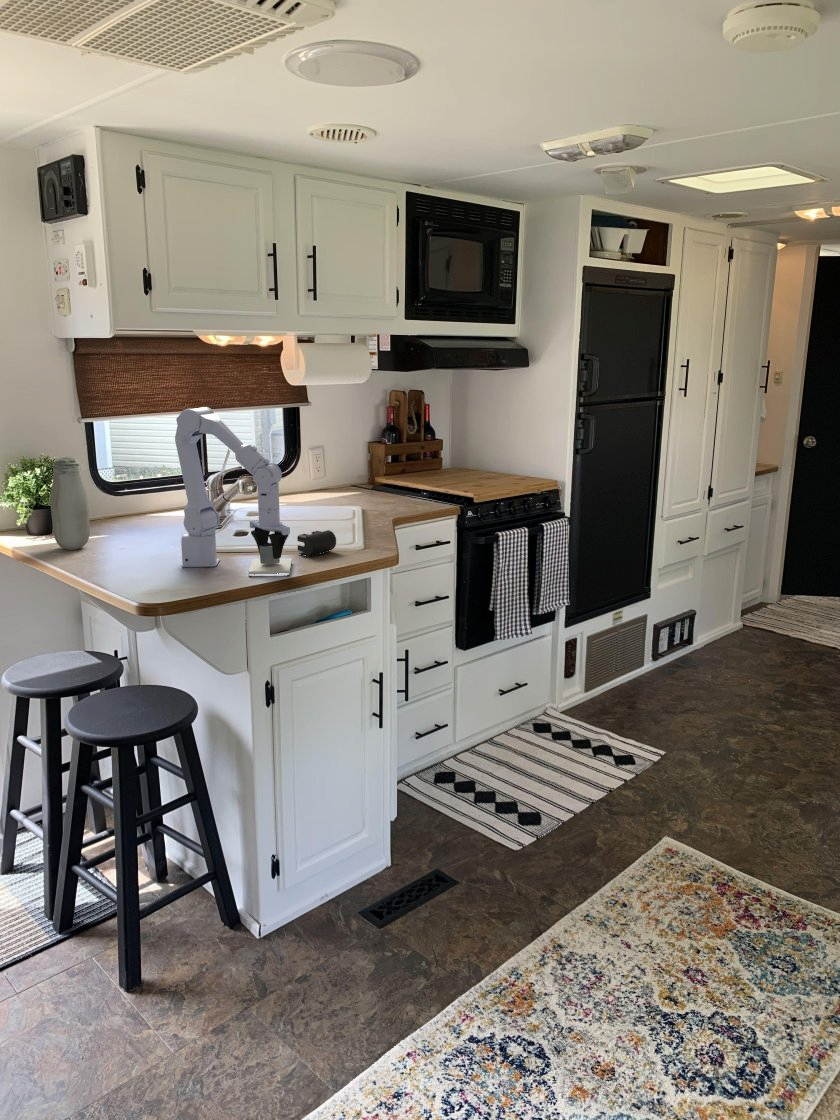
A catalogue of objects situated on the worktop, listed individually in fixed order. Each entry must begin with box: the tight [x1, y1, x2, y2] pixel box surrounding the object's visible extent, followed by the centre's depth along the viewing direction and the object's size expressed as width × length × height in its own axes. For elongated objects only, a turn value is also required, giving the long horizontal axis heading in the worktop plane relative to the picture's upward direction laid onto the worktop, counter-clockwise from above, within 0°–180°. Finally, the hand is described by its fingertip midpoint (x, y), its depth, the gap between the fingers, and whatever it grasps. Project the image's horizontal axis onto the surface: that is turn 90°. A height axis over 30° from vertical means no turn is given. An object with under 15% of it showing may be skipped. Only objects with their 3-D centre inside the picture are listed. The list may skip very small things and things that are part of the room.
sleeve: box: [259, 542, 281, 565], centre depth 236 cm, size 5×5×5 cm
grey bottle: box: [49, 456, 91, 551], centre depth 256 cm, size 10×10×28 cm
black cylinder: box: [297, 529, 337, 557], centre depth 255 cm, size 10×7×7 cm
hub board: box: [247, 557, 293, 575], centre depth 237 cm, size 11×14×6 cm
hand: (270, 556), depth 237 cm, fingers closed on sleeve, 5 cm apart
